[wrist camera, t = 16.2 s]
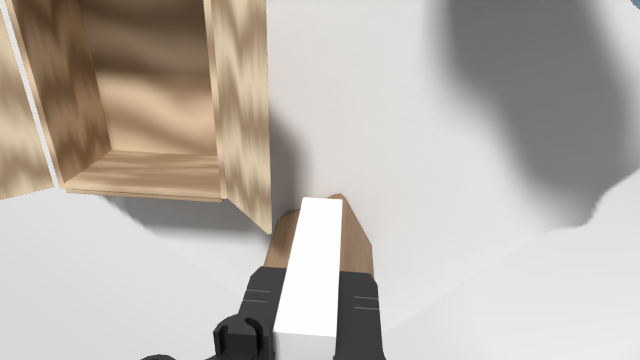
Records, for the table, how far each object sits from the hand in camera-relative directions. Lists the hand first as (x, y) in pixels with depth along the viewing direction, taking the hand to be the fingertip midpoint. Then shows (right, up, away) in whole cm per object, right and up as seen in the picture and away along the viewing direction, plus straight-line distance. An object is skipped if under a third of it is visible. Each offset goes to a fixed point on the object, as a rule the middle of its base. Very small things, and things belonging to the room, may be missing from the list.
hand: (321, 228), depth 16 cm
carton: (-18, +14, +31) cm, 38 cm away
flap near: (-9, +9, +21) cm, 25 cm away
